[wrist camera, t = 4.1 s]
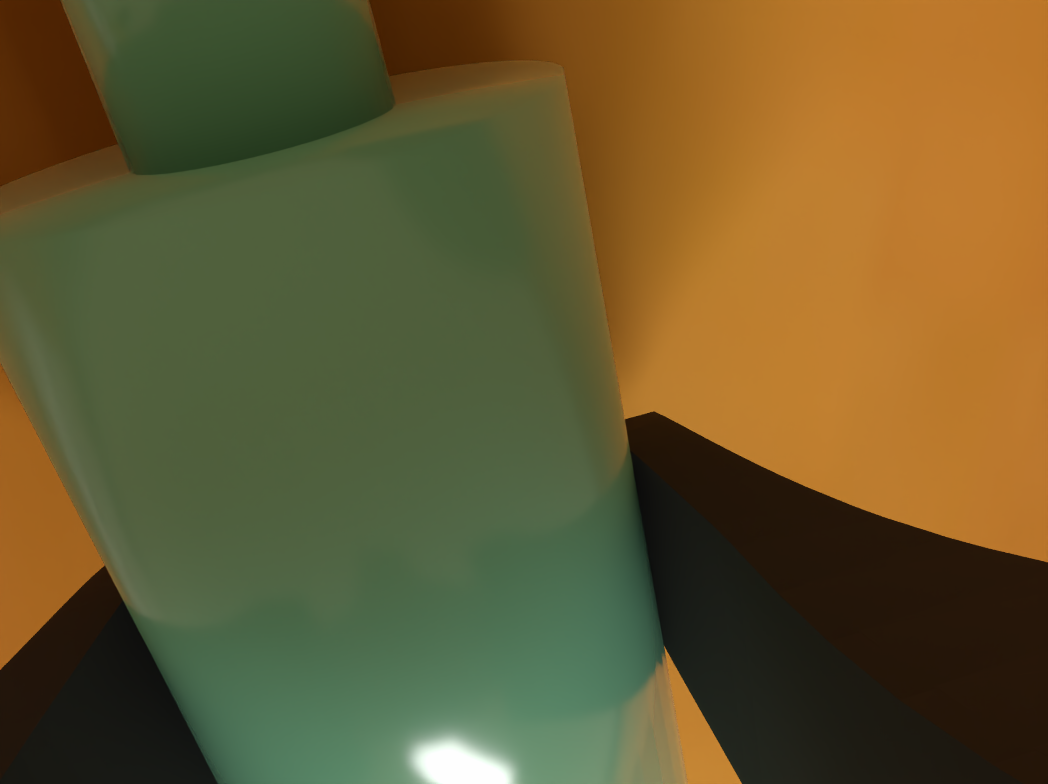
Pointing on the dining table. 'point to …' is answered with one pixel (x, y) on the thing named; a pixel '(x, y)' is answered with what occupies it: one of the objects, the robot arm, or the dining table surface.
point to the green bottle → (343, 402)
